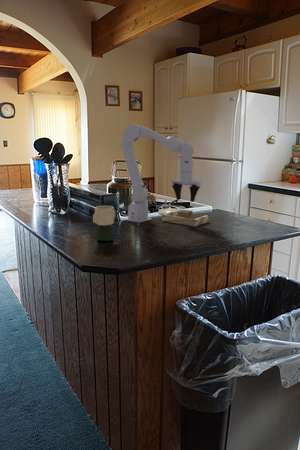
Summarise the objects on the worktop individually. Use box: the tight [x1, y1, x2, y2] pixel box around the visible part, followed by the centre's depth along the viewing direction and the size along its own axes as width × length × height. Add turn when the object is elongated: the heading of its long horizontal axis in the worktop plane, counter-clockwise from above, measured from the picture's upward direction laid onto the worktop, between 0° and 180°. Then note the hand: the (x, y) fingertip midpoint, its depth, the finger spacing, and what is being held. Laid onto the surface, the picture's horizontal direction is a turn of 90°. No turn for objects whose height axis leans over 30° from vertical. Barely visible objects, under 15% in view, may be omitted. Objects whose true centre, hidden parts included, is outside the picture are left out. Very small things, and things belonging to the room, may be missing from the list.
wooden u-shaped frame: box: [161, 211, 209, 227], centre depth 176 cm, size 12×18×3 cm, turn 52°
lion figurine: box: [146, 193, 158, 206], centre depth 212 cm, size 15×5×9 cm, turn 119°
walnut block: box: [178, 209, 194, 219], centre depth 176 cm, size 5×5×5 cm
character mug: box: [92, 205, 116, 242], centre depth 143 cm, size 11×7×13 cm, turn 139°
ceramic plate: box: [158, 207, 183, 216], centre depth 194 cm, size 14×14×1 cm
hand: (185, 200), depth 174 cm, fingers open, 7 cm apart
